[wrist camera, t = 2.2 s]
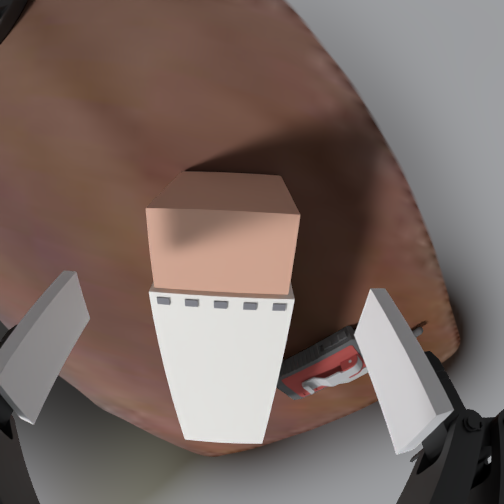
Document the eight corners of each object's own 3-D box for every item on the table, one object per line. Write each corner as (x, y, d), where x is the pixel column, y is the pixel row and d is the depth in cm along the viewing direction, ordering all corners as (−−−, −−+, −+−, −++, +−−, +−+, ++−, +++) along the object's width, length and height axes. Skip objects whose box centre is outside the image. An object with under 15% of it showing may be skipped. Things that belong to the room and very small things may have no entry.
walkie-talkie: (296, 394, 37) (419, 326, 32) (299, 418, 34) (433, 348, 28) (261, 367, 34) (403, 285, 29) (262, 395, 30) (420, 309, 25)
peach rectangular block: (181, 171, 22) (145, 208, 14) (280, 175, 22) (300, 214, 14) (182, 227, 24) (154, 287, 16) (274, 232, 25) (288, 294, 17)
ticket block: (178, 231, 25) (148, 292, 17) (280, 236, 25) (296, 300, 17) (192, 382, 35) (184, 439, 27) (260, 385, 35) (262, 444, 27)
